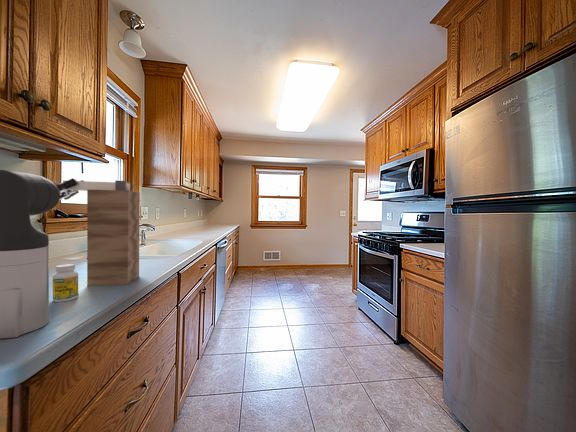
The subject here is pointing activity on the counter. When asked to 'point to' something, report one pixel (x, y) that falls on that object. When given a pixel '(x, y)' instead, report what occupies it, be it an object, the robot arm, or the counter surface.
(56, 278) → the supplement bottle
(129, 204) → the walnut stand
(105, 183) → the white bar
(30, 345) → the counter surface
